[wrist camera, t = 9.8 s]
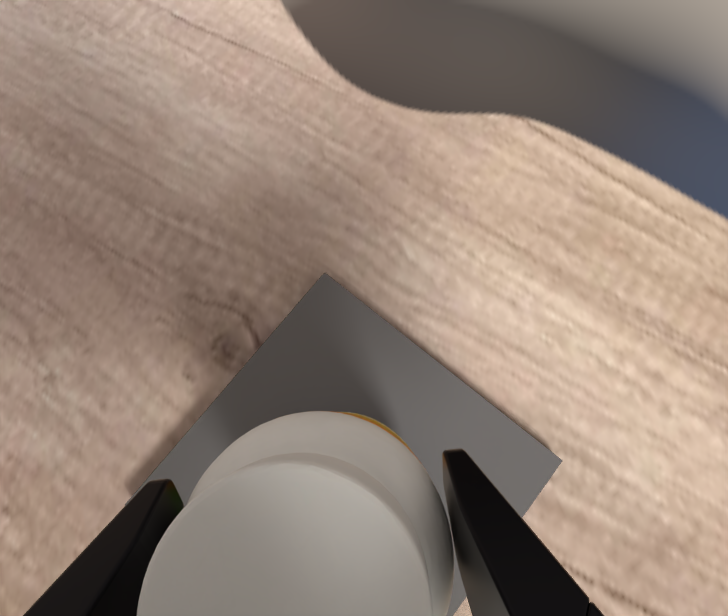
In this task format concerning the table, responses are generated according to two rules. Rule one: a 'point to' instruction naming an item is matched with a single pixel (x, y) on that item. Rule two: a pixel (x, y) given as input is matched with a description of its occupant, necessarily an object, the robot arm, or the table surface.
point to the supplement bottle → (307, 528)
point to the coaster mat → (363, 402)
